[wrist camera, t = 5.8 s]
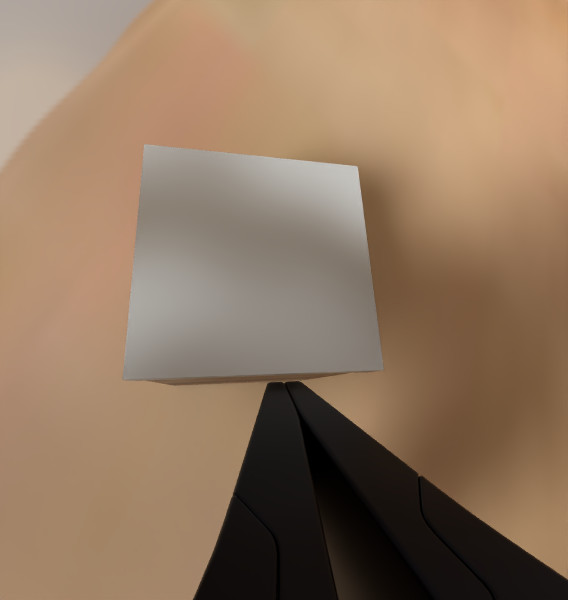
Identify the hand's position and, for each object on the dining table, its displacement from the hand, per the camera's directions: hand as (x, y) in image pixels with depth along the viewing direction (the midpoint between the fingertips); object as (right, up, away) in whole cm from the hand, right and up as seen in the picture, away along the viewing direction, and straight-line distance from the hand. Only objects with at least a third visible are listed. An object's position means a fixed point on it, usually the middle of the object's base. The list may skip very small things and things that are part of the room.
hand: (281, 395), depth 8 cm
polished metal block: (-2, +1, +8) cm, 8 cm away
